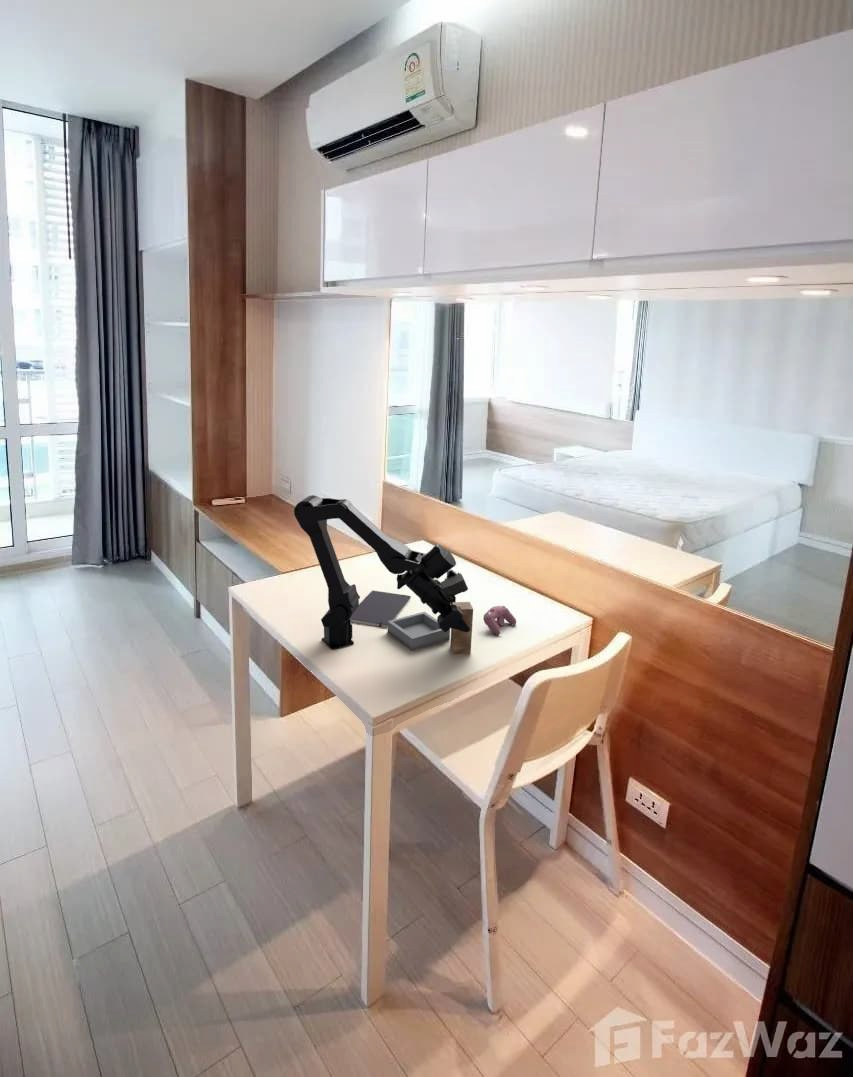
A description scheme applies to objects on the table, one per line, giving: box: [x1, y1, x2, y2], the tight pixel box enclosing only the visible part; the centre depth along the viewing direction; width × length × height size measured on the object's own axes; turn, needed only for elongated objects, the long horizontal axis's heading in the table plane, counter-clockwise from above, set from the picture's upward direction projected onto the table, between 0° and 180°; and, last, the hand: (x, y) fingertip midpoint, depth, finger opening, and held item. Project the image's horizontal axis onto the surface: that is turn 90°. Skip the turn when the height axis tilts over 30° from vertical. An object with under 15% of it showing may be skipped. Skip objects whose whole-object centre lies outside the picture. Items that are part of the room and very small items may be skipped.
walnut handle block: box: [449, 601, 474, 655], centre depth 166 cm, size 4×4×12 cm
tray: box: [387, 611, 451, 652], centre depth 174 cm, size 12×12×4 cm
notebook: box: [349, 590, 412, 628], centre depth 190 cm, size 13×2×21 cm
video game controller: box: [483, 605, 517, 636], centre depth 181 cm, size 10×5×7 cm, turn 141°
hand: (466, 626), depth 166 cm, fingers closed on walnut handle block, 4 cm apart
